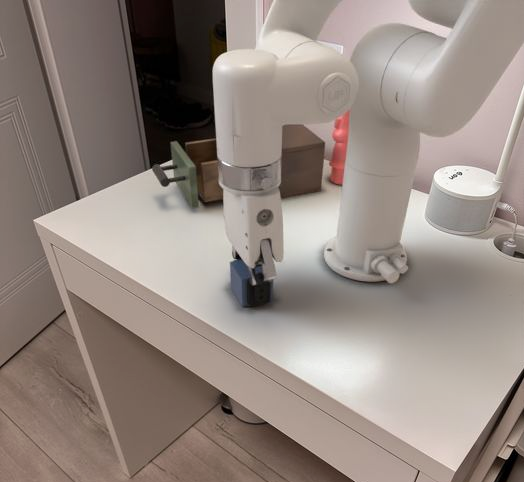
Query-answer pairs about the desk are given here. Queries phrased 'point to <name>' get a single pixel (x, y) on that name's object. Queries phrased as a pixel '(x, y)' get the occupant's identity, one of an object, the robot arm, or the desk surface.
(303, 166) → the cabinet
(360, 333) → the desk surface
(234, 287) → the block
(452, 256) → the desk surface
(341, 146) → the figurine
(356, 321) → the desk surface
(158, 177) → the drawer
